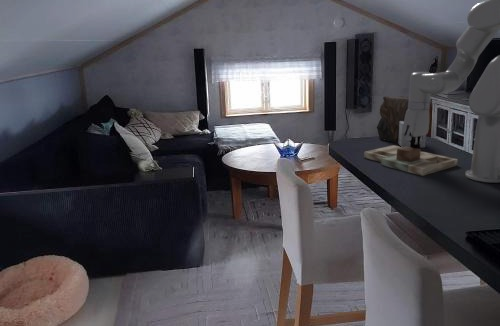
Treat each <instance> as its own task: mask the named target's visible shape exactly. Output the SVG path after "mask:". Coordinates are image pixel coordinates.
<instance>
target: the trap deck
mask: <svg viewBox="0 0 500 326" xmlns="http://www.w3.org/2000/svg"><path fill="white" fill-rule="evenodd" d="M399 148H402V147H400V146H399V145H393V144H392V145H388V146H384V147H379V148H375V149H371V150H367V151H363V152H364V153H363V154H364V155H363V158H364V159H368V160H372V161H375V162H379V163H380V164H381V166H384V167H387V168H392V169H395V170H398V171H402V172H406V173H410V174H414V175H418V176H422V177H425V176H427V175H430V174H434V173H437V172H440V171H444V170H447V169H450V168H454V167H457V166H458V161H459V160H458V158H453V157H449V156H446V155H445V156H444V155H441V154H435V153H431V152H426V151H421V152H420V160H417V161H413V162H407V161H402V160H398V159H396V158H397V149H399Z"/></svg>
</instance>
